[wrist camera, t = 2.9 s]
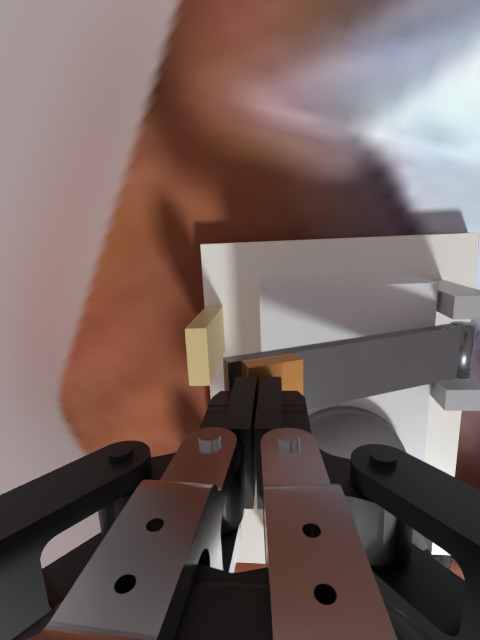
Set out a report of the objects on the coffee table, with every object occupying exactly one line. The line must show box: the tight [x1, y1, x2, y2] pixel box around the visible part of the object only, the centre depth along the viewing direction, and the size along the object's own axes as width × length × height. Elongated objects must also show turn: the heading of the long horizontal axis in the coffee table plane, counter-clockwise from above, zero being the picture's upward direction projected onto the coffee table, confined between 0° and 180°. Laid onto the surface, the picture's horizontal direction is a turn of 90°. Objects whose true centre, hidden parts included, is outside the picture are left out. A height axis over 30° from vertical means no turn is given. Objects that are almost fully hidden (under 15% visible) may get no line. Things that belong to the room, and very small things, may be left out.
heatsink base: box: [185, 233, 480, 564], centre depth 21 cm, size 22×15×6 cm
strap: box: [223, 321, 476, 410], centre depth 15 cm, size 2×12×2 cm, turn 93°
